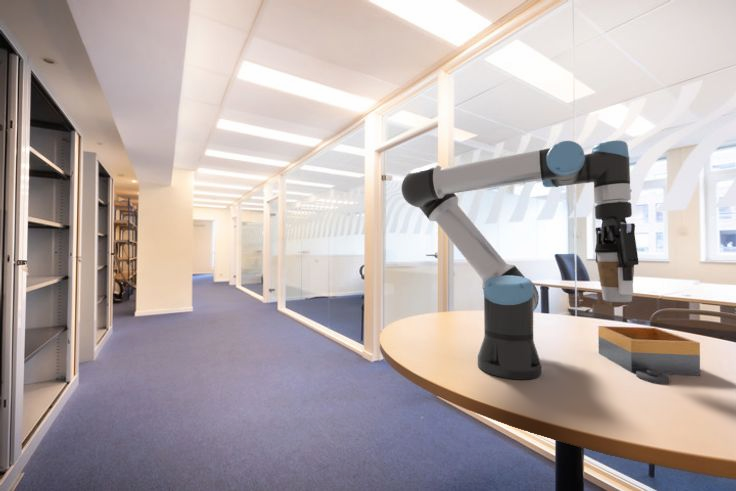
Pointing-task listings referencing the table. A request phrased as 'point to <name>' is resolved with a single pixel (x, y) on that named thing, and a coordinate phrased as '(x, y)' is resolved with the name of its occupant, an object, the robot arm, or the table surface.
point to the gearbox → (649, 350)
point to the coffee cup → (610, 273)
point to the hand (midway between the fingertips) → (616, 291)
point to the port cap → (652, 376)
